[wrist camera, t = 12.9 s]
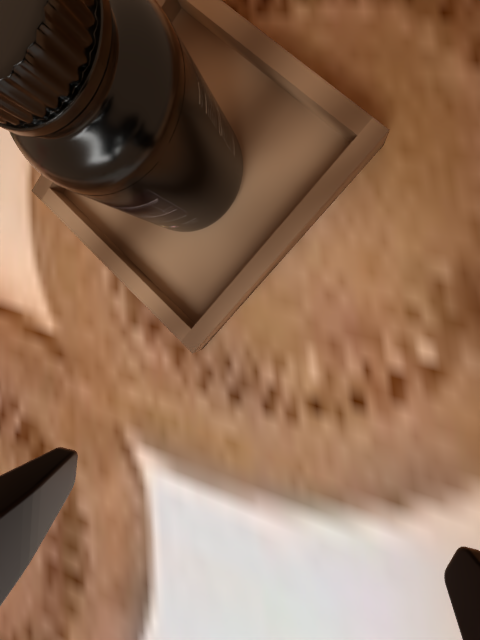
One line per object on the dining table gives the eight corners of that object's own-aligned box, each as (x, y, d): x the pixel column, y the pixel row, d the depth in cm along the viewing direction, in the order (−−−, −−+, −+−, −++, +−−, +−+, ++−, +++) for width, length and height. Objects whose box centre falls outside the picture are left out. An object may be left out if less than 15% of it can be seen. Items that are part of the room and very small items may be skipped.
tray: (383, 145, 16) (389, 130, 15) (202, 349, 19) (192, 353, 18) (183, -12, 18) (171, -39, 17) (51, 197, 22) (31, 190, 20)
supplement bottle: (146, 113, 19) (-134, -180, 7) (255, 118, 17) (119, -248, 6) (132, 228, 20) (-141, 131, 8) (234, 243, 18) (77, 148, 6)
